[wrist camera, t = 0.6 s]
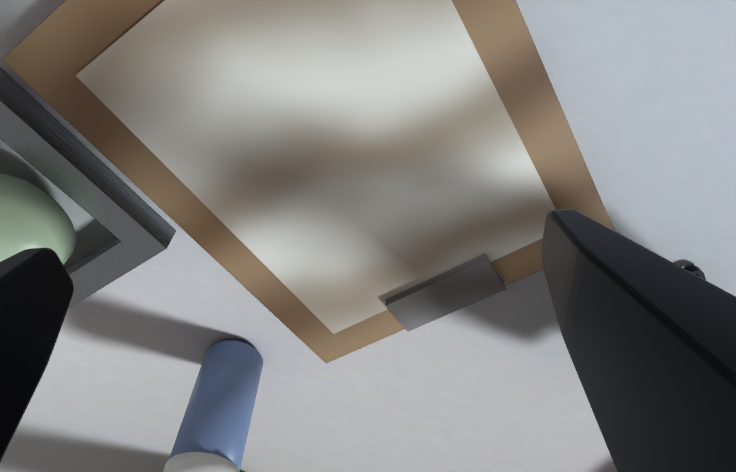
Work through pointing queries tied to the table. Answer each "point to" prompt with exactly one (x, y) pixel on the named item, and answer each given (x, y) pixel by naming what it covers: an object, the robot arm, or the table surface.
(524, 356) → the table surface
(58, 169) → the button bezel
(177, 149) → the clipboard
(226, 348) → the blue cylinder
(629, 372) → the robot arm
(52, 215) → the button
